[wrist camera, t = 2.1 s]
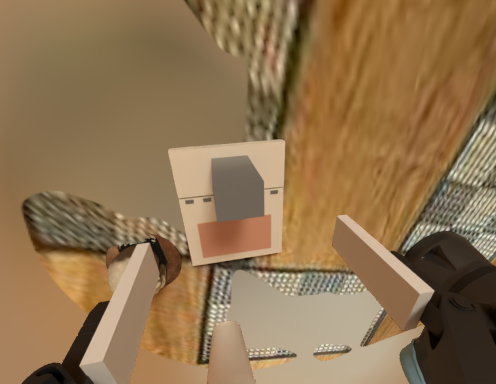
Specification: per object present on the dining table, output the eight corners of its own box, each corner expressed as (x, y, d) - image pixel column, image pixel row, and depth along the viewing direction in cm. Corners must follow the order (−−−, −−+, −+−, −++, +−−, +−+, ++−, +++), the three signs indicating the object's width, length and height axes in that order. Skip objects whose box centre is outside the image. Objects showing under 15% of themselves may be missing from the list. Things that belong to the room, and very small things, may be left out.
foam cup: (213, 314, 44) (214, 392, 32) (252, 317, 47) (266, 391, 35) (201, 342, 47) (198, 422, 36) (238, 343, 50) (247, 418, 38)
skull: (195, 279, 38) (146, 333, 31) (161, 262, 43) (113, 303, 36) (173, 229, 32) (108, 280, 25) (137, 216, 38) (75, 254, 31)
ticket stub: (280, 182, 33) (312, 221, 23) (179, 194, 31) (164, 241, 21) (281, 139, 30) (318, 161, 20) (169, 148, 28) (147, 178, 18)
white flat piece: (278, 246, 39) (281, 252, 38) (193, 259, 37) (192, 266, 36) (280, 184, 34) (283, 188, 32) (180, 195, 31) (178, 200, 30)
